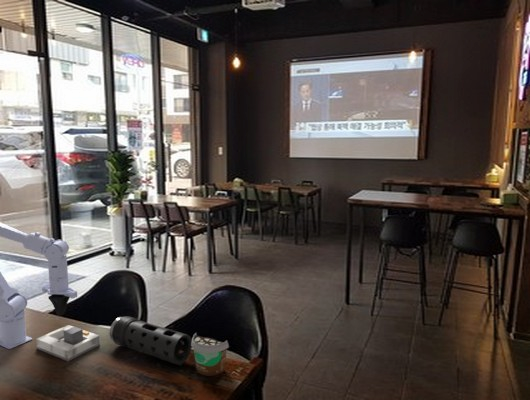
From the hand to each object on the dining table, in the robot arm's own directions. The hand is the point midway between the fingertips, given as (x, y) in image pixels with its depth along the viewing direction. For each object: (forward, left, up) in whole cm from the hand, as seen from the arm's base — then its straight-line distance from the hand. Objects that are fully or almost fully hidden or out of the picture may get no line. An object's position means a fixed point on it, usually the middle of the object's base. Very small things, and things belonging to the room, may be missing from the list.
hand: (60, 314), depth 142 cm
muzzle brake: (+33, +8, -10) cm, 35 cm away
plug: (+9, -2, -9) cm, 13 cm away
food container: (+55, +9, -10) cm, 57 cm away
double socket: (+6, -2, -9) cm, 11 cm away
